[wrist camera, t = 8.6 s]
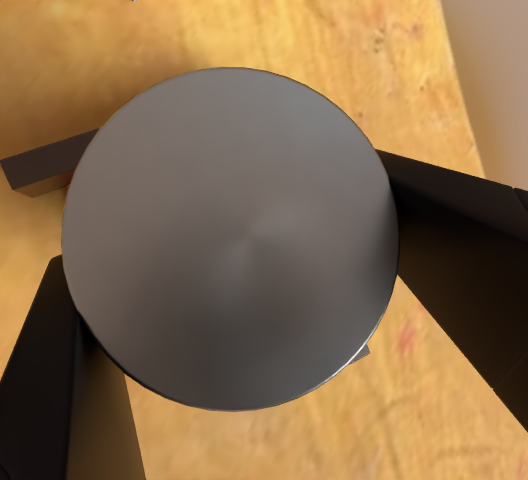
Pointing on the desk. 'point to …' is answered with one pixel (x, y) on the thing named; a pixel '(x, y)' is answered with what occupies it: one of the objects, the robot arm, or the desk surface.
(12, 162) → the corner rail
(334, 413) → the desk surface
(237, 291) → the tea tin
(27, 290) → the desk surface
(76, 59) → the desk surface
